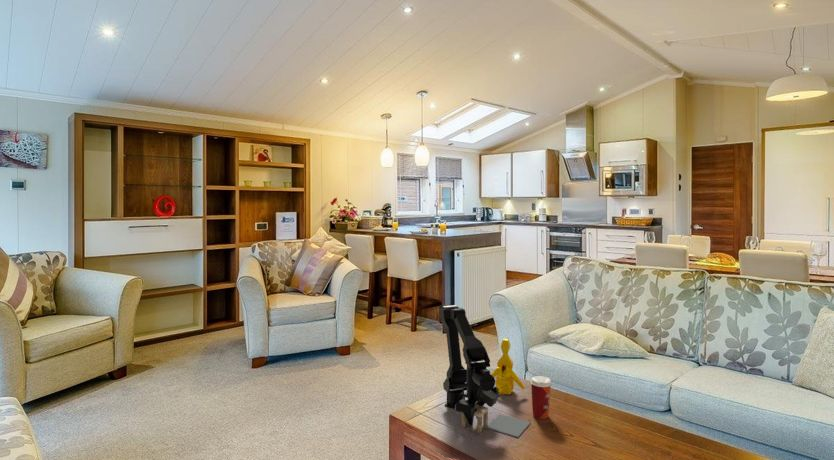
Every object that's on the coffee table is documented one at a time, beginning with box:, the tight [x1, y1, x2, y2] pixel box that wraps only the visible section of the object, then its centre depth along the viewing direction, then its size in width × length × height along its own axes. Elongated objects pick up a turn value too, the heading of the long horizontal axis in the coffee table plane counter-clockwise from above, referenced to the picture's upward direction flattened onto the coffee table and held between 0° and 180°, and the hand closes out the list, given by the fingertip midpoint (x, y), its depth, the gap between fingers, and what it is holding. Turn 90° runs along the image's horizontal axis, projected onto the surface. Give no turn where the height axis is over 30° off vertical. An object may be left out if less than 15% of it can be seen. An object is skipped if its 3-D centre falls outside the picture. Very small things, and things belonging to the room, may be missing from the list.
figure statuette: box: [490, 338, 526, 395], centre depth 192 cm, size 18×8×22 cm, turn 70°
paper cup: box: [530, 375, 552, 420], centre depth 171 cm, size 8×8×14 cm
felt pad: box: [485, 413, 531, 439], centre depth 164 cm, size 12×12×1 cm
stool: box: [460, 404, 489, 433], centre depth 164 cm, size 8×6×7 cm
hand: (474, 422), depth 164 cm, fingers closed on stool, 5 cm apart
